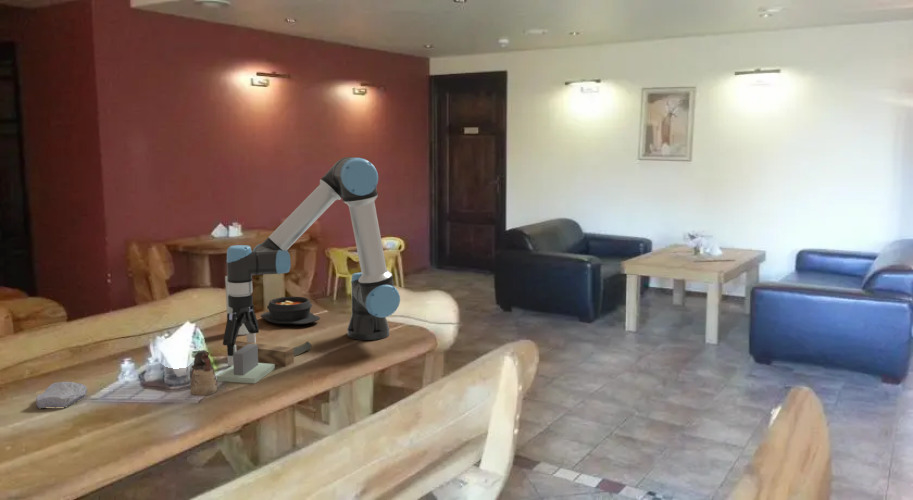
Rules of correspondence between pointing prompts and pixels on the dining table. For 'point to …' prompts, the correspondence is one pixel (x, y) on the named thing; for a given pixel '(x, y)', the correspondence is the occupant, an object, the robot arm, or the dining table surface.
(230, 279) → the robot arm
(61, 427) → the dining table surface
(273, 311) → the casserole
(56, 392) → the stone block
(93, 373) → the dining table surface
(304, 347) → the dark grey oblong piece
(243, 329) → the paper towel roll
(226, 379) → the stand
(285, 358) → the beam
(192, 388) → the figurine
